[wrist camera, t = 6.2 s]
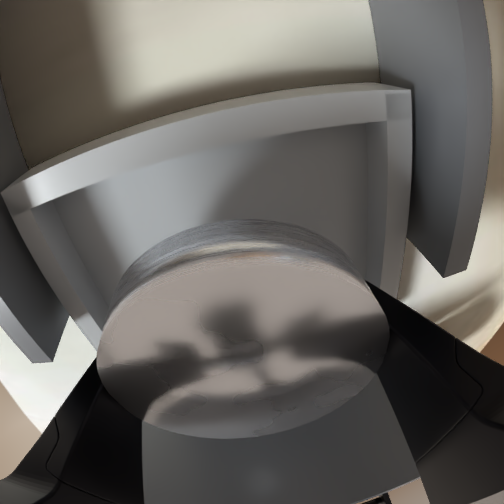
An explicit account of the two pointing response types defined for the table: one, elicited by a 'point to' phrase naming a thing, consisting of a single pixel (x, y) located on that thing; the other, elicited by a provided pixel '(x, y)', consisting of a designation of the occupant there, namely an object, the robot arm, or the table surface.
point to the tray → (230, 208)
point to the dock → (423, 155)
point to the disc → (240, 331)
